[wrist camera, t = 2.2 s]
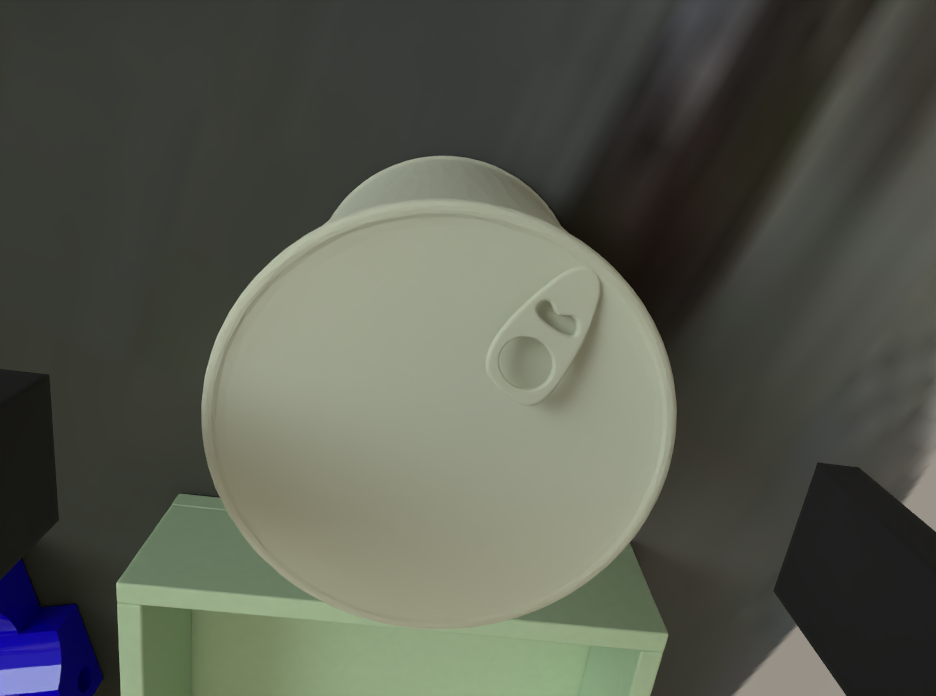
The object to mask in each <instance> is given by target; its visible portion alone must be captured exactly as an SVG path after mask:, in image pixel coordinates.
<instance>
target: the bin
mask: <svg viewBox="0 0 936 696" xmlns="http://www.w3.org/2000/svg"><path fill="white" fill-rule="evenodd" d="M116 589H117V602H118V604H117V612H118V636H119V661H120V686H121V696H650V695H651V692H652V688H653V685H654V682H655V678H656V675H657V672H658V668H659V665H660V662H661V658H662V655H663V653H662V652H663V651H664V648H665V645H666V642H667V638H668V632H667V630H666V628H665V625H664V623H663V620H662V618H661V616H660V613H659V611H658V609H657V606H656V604H655V602H654V599H653V597H652V595H651V592H650V590H649V587H648V585H647V583H646V580H645V578H644V576H643V573H642V571H641V569H640V566H639V564H638V562H637V559H636V557H635V555H634V553H633V549H632V547H631V544H630V543H629V544H628V545H627V546H626V547H625V549H624V550H623V551H622V552H621V553H620V554H619V555H618V556H617V557H616V558H615V559H614V560H613V561H612V562H611V563H610V564H609V565H608V566H607V567H606V568H605V569H603V570H602V571H601V572H600V573H598V574H597V575H596V576H595V577H593V578H592V579H591V580H590V581H588V582H587V583H586V584H584V585H583V586H581V587H579V588H578V589H576V590H575V591H573V592H572V593H570V594H569V595H567V596H565V597H563V598H561V599H559V600H557V601H556V602H554V603H552V604H550V605H548V606H545V607H543V608H541V609H538V610H536V611H533V612H531V613H528V614H525V615H522V616H520V617H517V618H513V619H510V620H506V621H503V622H499V623H494V624H488V625H483V626H477V627H471V628H456V629H418V628H409V627H402V626H395V625H388V624H384V623H380V622H376V621H372V620H368V619H364V618H361V617H358V616H356V615H353V614H350V613H348V612H345V611H342V610H340V609H337V608H334V607H332V606H330V605H328V604H326V603H324V602H323V601H321V600H319V599H317V598H315V597H313V596H311V595H309V594H308V593H306V592H305V591H303V590H301V589H300V588H298V587H296V586H295V585H293V584H292V583H291V582H290V581H288V580H287V579H286V578H284V577H283V576H282V575H280V574H279V573H278V572H277V571H276V570H275V569H274V568H273V567H272V566H271V565H269V564H268V563H267V562H266V561H265V560H264V559H263V558H262V557H261V556H260V555H259V554H258V553H257V552H256V551H255V550H254V549H253V548H252V546H251V545H250V544H249V543H248V541H247V540H246V539H245V538H244V536H243V535H242V534H241V532H240V531H239V529H238V528H237V526H236V525H235V523H234V522H233V520H232V519H231V517H230V516H229V514H228V512H227V510H226V508H225V506H224V504H223V502H222V500H221V498H218V497H208V496H198V495H189V494H179V495H178V496H177V498H176V499H175V500H174V502H173V503H172V506H171V507H170V508H169V509H168V511H167V512H166V514H165V515H164V516H163V518H162V519H161V521H160V522H159V524H158V525H157V526H156V528H155V529H154V531H153V532H152V533H151V535H150V536H149V538H148V539H147V541H146V542H145V543H144V545H143V546H142V548H141V549H140V550H139V552H138V553H137V555H136V556H135V558H134V559H133V560H132V562H131V563H130V565H129V566H128V567H127V569H126V570H125V572H124V573H123V575H122V576H121V577H120V579H119V580H118V582H117V583H116Z"/></svg>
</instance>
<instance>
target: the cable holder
mask: <svg viewBox="0 0 936 696" xmlns="http://www.w3.org/2000/svg"><path fill="white" fill-rule="evenodd" d="M102 680H103V676H102V673H101V670H100V667H99V665H98V662H97V659H96V656H95V654H94V651H93V648H92V646H91V643H90V640H89V637H88V635H87V632H86V629H85V626H84V624H83V621H82V618H81V615H80V613H79V610H78V607H77V604H70V605H60V606H51V607H41V608H40V605H39V603H38V600H37V597H36V595H35V592H34V590H33V587H32V585H31V582H30V579H29V577H28V574H27V572H26V569H25V566H24V564H23V561H22V559H20V560H19V561H18V562H17V563H16V564H15V566H14V567H13V568H12V569H11V570H10V571H9V572H8V573H7V574H6V575H5V576H4V577H3V578H2V579H1V580H0V696H93V695H94V693H95V691H96V690H97V688H98V686H99V685H100V683H101V681H102Z"/></svg>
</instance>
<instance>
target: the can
mask: <svg viewBox="0 0 936 696" xmlns="http://www.w3.org/2000/svg"><path fill="white" fill-rule="evenodd" d="M201 412H202V434H203V442H204V450H205V454H206V459H207V463H208V467H209V470H210V473H211V476H212V479H213V482H214V485H215V488H216V490H217V492H218V494H219V496H220V498H221V500H222V502H223V504H224V506H225V508H226V510H227V512H228V514H229V516H230V517H231V519H232V520H233V522H234V523H235V525H236V526H237V528H238V529H239V531H240V532H241V534H242V535H243V536H244V538H245V539H246V540H247V541H248V543H249V544H250V545H251V546H252V548H253V549H254V550H255V551H256V552H257V553H258V554H259V555H260V556H261V557H262V558H263V559H264V560H265V561H266V562H267V563H268V564H269V565H271V566H272V567H273V568H274V569H275V570H276V571H277V572H278V573H279V574H280V575H282V576H283V577H284V578H286V579H287V580H288V581H290V582H291V583H292V584H293V585H295V586H296V587H298V588H300V589H301V590H303V591H305V592H306V593H308V594H309V595H311V596H313V597H315V598H317V599H319V600H321V601H323V602H324V603H326V604H328V605H330V606H332V607H334V608H337V609H340V610H342V611H345V612H348V613H350V614H353V615H356V616H358V617H361V618H364V619H368V620H372V621H376V622H380V623H384V624H388V625H395V626H402V627H409V628H418V629H456V628H471V627H477V626H483V625H488V624H494V623H499V622H503V621H506V620H510V619H513V618H517V617H520V616H522V615H525V614H528V613H531V612H533V611H536V610H538V609H541V608H543V607H545V606H548V605H550V604H552V603H554V602H556V601H557V600H559V599H561V598H563V597H565V596H567V595H569V594H570V593H572V592H573V591H575V590H576V589H578V588H579V587H581V586H583V585H584V584H586V583H587V582H588V581H590V580H591V579H592V578H593V577H595V576H596V575H597V574H598V573H600V572H601V571H602V570H603V569H605V568H606V567H607V566H608V565H609V564H610V563H611V562H612V561H613V560H614V559H615V558H616V557H617V556H618V555H619V554H620V553H621V552H622V551H623V550H624V549H625V547H626V546H627V545H628V544H629V543H630V542H631V540H632V539H633V538H634V537H635V535H636V534H637V533H638V531H639V530H640V528H641V527H642V525H643V524H644V522H645V521H646V519H647V518H648V516H649V514H650V512H651V510H652V508H653V506H654V504H655V503H656V501H657V499H658V496H659V494H660V492H661V489H662V487H663V484H664V482H665V480H666V476H667V473H668V470H669V467H670V462H671V458H672V453H673V448H674V441H675V434H676V417H677V404H676V395H675V387H674V379H673V374H672V370H671V366H670V362H669V358H668V355H667V352H666V349H665V346H664V343H663V341H662V339H661V336H660V334H659V332H658V330H657V328H656V325H655V323H654V321H653V320H652V318H651V316H650V314H649V313H648V311H647V309H646V307H645V306H644V304H643V302H642V301H641V300H640V298H639V297H638V296H637V294H636V293H635V291H634V290H633V289H632V288H631V287H630V285H629V284H628V283H627V282H626V281H625V280H624V278H623V277H622V276H621V275H620V274H619V273H618V272H617V271H616V269H615V268H614V267H613V266H612V265H610V264H609V263H608V262H607V261H606V260H605V259H604V258H603V257H601V256H600V255H599V254H598V253H597V252H595V251H594V250H593V249H592V248H590V247H589V246H588V245H586V244H585V243H584V242H582V241H581V240H579V239H577V238H576V237H574V236H573V235H571V234H569V233H568V232H567V231H566V230H565V229H564V228H563V227H562V226H561V225H560V224H559V222H558V220H557V218H556V217H555V215H554V214H553V212H552V211H551V210H550V208H549V207H548V206H547V204H546V203H545V202H544V201H543V200H542V199H541V197H540V196H539V195H537V194H536V193H535V192H534V191H533V190H532V189H531V188H530V187H529V186H527V185H526V184H525V183H523V182H522V181H521V180H519V179H518V178H517V177H515V176H513V175H511V174H510V173H508V172H506V171H504V170H502V169H500V168H498V167H496V166H493V165H491V164H488V163H485V162H482V161H478V160H474V159H470V158H464V157H456V156H430V157H422V158H416V159H412V160H408V161H404V162H402V163H399V164H396V165H393V166H391V167H389V168H386V169H384V170H382V171H380V172H378V173H377V174H375V175H373V176H372V177H370V178H369V179H367V180H366V181H364V182H363V183H362V184H360V185H359V186H358V187H357V188H356V189H354V190H353V191H352V192H351V193H350V194H349V195H348V196H347V197H346V198H345V200H344V201H343V202H342V203H341V204H340V206H339V207H338V208H337V210H336V211H335V212H334V214H333V215H332V217H331V218H330V220H329V221H327V222H326V223H325V224H324V225H323V226H321V227H319V228H317V229H316V230H314V231H312V232H310V233H308V234H307V235H305V236H304V237H302V238H301V239H299V240H298V241H296V242H295V243H293V244H292V245H290V246H289V247H288V248H286V249H285V250H284V251H283V252H281V253H280V254H279V255H278V256H277V257H276V258H274V259H273V260H272V261H271V262H270V263H269V264H268V265H267V266H266V267H265V268H264V269H263V270H262V271H261V272H260V273H259V274H258V275H257V276H256V277H255V278H254V279H253V280H252V281H251V283H250V284H249V285H248V286H247V288H246V289H245V290H244V291H243V293H242V294H241V295H240V297H239V298H238V300H237V301H236V303H235V304H234V306H233V307H232V309H231V310H230V312H229V314H228V316H227V318H226V320H225V322H224V324H223V326H222V328H221V330H220V332H219V334H218V335H217V338H216V341H215V344H214V346H213V349H212V352H211V356H210V359H209V363H208V366H207V370H206V374H205V379H204V388H203V396H202V404H201Z"/></svg>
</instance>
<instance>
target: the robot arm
mask: <svg viewBox="0 0 936 696" xmlns="http://www.w3.org/2000/svg"><path fill="white" fill-rule="evenodd" d="M58 520H59V518H58V502H57V487H56V471H55V456H54V441H53V425H52V410H51V394H50V379H49V375H47V374H38V373H30V372H21V371H12V370H4V369H0V580H1V579H2V578H3V577H4V576H5V575H6V574H7V573H8V572H9V571H10V570H11V569H12V568H13V567H14V566H15V564H16V563H17V562H18V561H19V560H20V559H21V558H22V557H23V556H24V555H25V554H26V553H27V552H28V551H29V550H30V549H31V548H32V547H33V546H34V545H35V544H36V543H37V542H38V541H39V540H40V539H41V538H42V537H43V536H44V535H45V534H46V533H47V532H48V531H49V530H50V529H51V528H52V527H53V525H54V524H55V523H56V522H57V521H58ZM774 593H775V594H776V595H777V597H778V598H779V600H780V601H781V603H782V604H783V605H784V607H785V608H786V610H787V611H788V613H789V614H790V615H791V617H792V618H793V620H794V621H795V623H796V624H797V626H798V627H799V628H800V630H801V631H802V633H803V634H804V635H805V637H806V638H807V640H808V641H809V643H810V644H811V646H812V647H813V648H814V650H815V651H816V653H817V654H818V655H819V657H820V658H821V660H822V661H823V663H824V664H825V666H826V667H827V668H828V670H829V671H830V673H831V674H832V676H833V677H834V679H835V680H836V681H837V683H838V684H839V686H840V687H841V688H842V690H843V691H844V693H845V694H846V696H936V532H935V531H934V530H933V529H931V528H930V527H929V526H928V525H926V523H924V522H923V521H922V520H921V519H920V518H918V517H917V516H916V515H915V514H914V513H912V512H911V511H910V510H909V509H908V508H906V507H905V506H904V505H903V504H902V503H900V502H899V501H898V500H897V499H896V498H894V497H893V496H892V495H891V494H890V493H889V492H887V491H886V490H885V489H884V488H883V487H881V486H880V485H879V484H878V483H877V482H875V481H874V480H873V479H872V478H871V477H869V476H868V475H867V474H866V473H865V472H863V471H862V470H861V469H860V468H859V467H850V466H842V465H833V464H824V463H817V466H816V469H815V472H814V475H813V478H812V481H811V484H810V486H809V489H808V492H807V495H806V498H805V501H804V504H803V507H802V510H801V513H800V515H799V518H798V521H797V524H796V527H795V530H794V533H793V536H792V539H791V542H790V544H789V547H788V550H787V553H786V556H785V559H784V562H783V565H782V568H781V571H780V573H779V576H778V579H777V582H776V585H775V588H774Z"/></svg>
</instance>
